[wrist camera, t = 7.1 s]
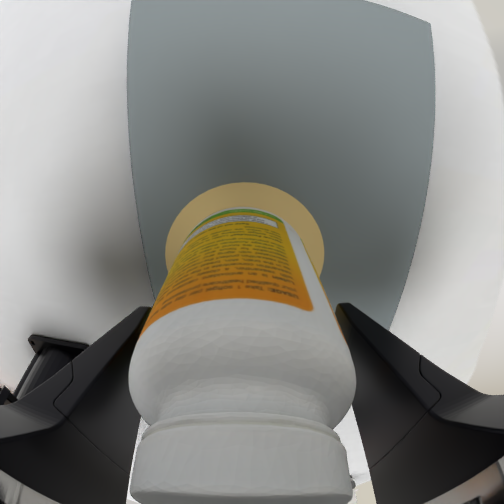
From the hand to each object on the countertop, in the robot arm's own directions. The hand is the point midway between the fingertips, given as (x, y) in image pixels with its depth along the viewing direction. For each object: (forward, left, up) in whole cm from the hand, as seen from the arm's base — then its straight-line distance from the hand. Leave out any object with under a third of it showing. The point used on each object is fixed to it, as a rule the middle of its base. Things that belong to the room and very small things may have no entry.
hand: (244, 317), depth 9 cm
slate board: (+2, +2, -4) cm, 5 cm away
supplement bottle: (0, 0, -4) cm, 4 cm away
